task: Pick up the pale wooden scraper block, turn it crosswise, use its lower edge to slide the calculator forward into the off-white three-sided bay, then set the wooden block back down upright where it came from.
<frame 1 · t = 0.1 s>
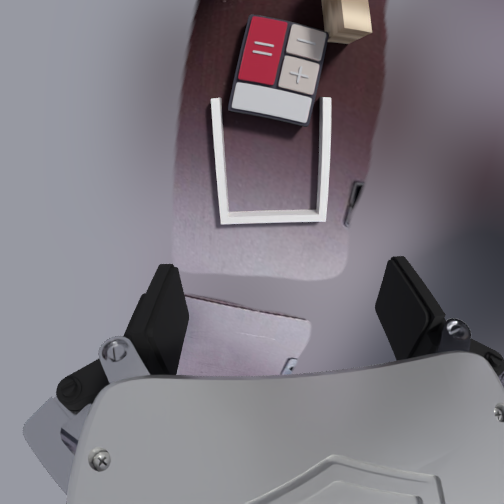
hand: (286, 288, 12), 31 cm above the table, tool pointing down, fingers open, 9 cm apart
bay: (272, 154, 38), on the table
calculator: (277, 70, 32), on the table
scraper block: (333, 12, 26), on the table
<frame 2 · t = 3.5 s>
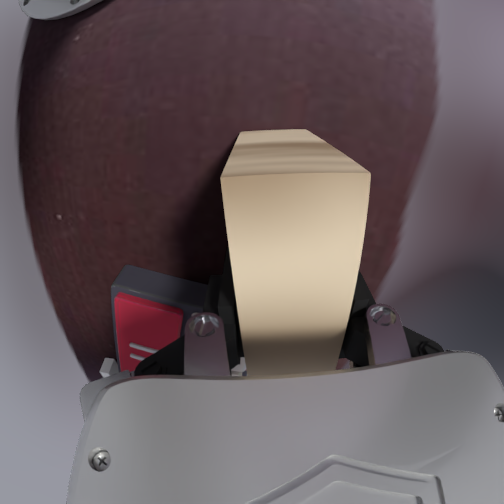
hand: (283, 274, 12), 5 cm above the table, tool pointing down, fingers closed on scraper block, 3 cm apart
calculator: (185, 339, 23), on the table
scraper block: (277, 221, 16), on the table, touching gripper
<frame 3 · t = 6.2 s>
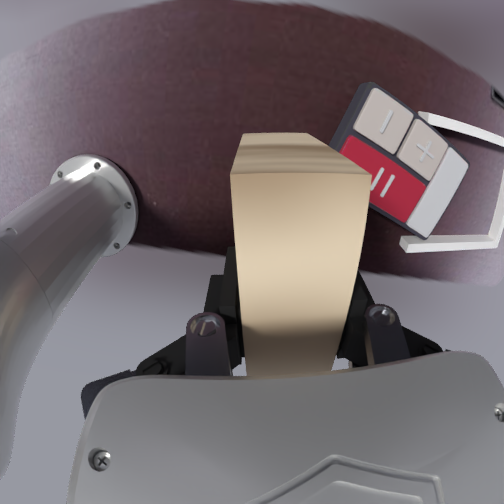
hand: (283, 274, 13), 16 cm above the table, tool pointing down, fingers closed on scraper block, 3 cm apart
bay: (463, 187, 26), on the table
calculator: (391, 160, 26), on the table
scraper block: (276, 222, 17), point 11 cm above the table, touching gripper
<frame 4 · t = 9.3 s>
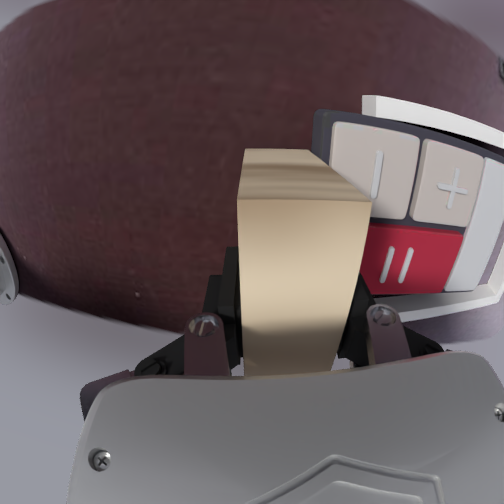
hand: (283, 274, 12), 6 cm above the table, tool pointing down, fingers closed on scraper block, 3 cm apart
bay: (452, 222, 17), on the table
calculator: (405, 201, 17), on the table
scraper block: (274, 236, 17), point 1 cm above the table, touching gripper
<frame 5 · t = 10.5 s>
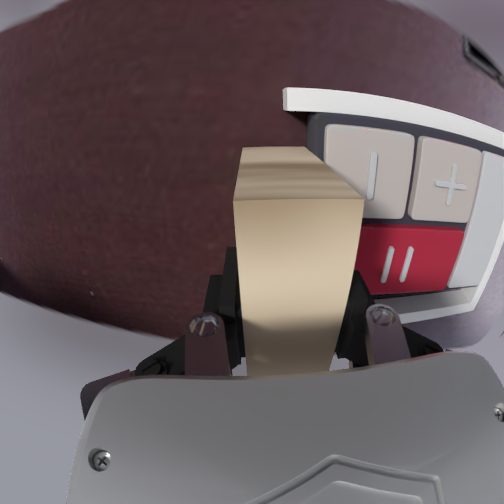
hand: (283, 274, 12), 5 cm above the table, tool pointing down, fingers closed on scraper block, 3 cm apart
bay: (407, 222, 17), on the table
calculator: (405, 199, 17), on the table, touching scraper block
scraper block: (274, 233, 17), on the table, touching calculator, gripper
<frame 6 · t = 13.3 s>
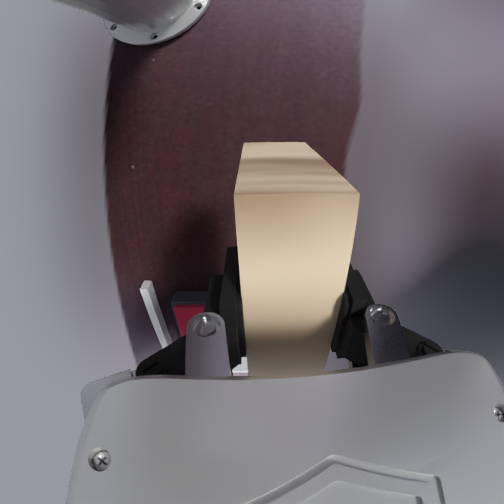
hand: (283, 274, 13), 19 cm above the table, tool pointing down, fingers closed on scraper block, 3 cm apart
bay: (208, 326, 41), on the table
calculator: (218, 324, 42), on the table
scraper block: (275, 226, 18), point 13 cm above the table, touching gripper
when the fingers open (6 cm above the table, at t = 16.0 s): scraper block stays where it is, on the table.
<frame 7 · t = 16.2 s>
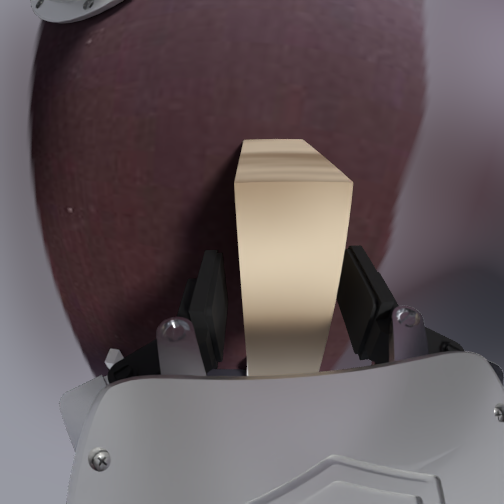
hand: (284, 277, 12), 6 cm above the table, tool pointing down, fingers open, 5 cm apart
scraper block: (273, 221, 18), on the table
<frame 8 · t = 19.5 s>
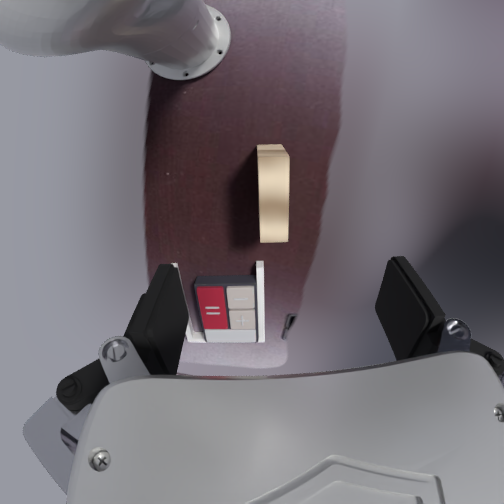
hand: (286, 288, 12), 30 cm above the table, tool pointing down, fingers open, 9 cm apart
bay: (221, 301, 52), on the table
calculator: (229, 304, 53), on the table
scraper block: (269, 180, 40), on the table
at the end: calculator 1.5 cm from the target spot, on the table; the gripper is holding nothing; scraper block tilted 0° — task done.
